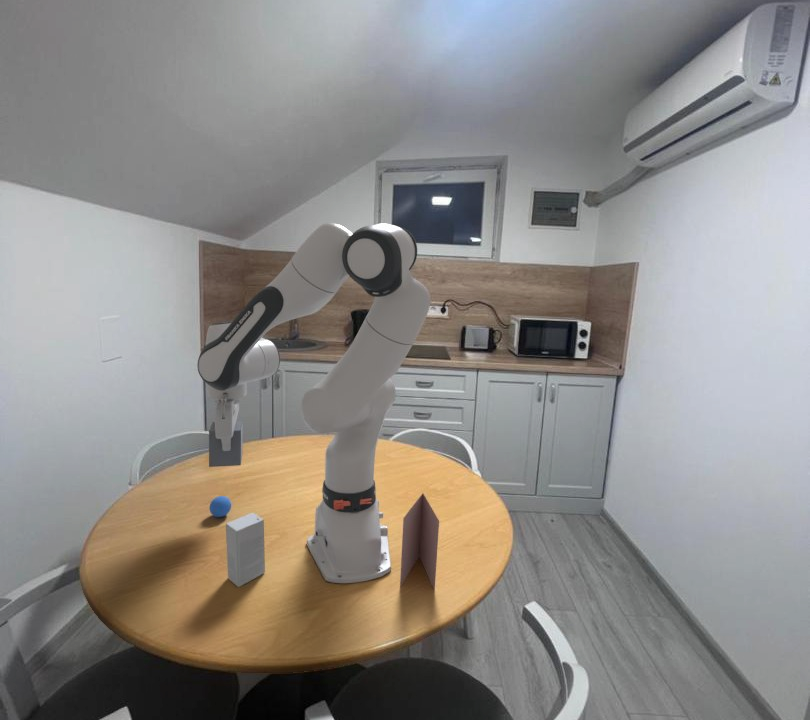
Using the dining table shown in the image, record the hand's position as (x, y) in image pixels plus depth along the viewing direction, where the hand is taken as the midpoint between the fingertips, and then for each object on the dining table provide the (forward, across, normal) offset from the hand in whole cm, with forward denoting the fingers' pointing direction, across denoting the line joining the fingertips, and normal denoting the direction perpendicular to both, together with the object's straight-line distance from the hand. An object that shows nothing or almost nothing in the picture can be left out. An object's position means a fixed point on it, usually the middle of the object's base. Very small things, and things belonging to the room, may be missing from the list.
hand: (228, 443), depth 106 cm
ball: (+16, 0, +2) cm, 17 cm away
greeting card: (+19, -33, -40) cm, 55 cm away
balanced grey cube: (+4, 0, +1) cm, 4 cm away
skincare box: (+19, -25, -5) cm, 32 cm away
